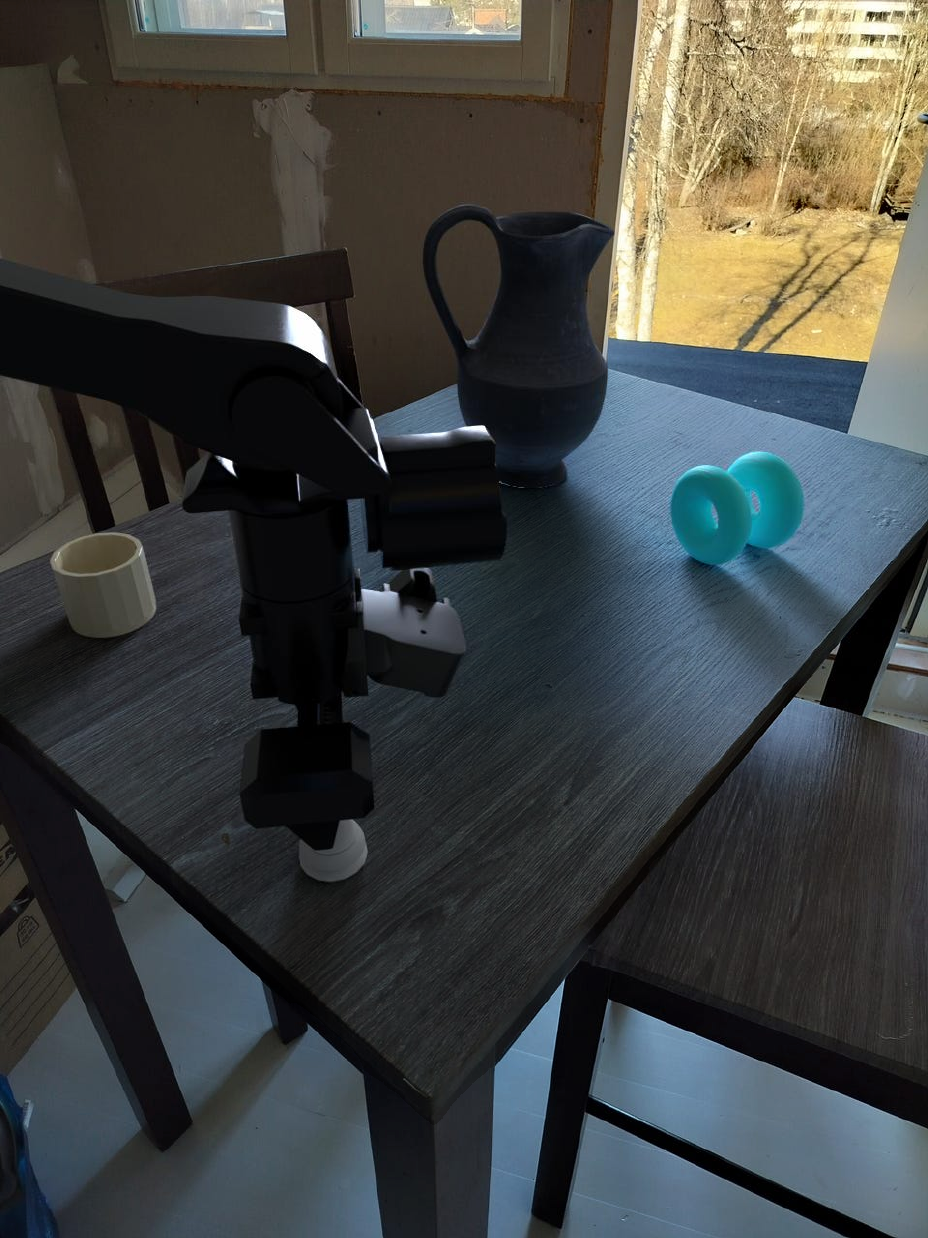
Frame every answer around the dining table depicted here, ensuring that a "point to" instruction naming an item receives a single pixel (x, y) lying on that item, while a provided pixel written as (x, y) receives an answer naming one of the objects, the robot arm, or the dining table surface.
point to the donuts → (736, 507)
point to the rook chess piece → (336, 855)
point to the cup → (104, 584)
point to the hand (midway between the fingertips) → (323, 788)
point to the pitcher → (530, 341)
